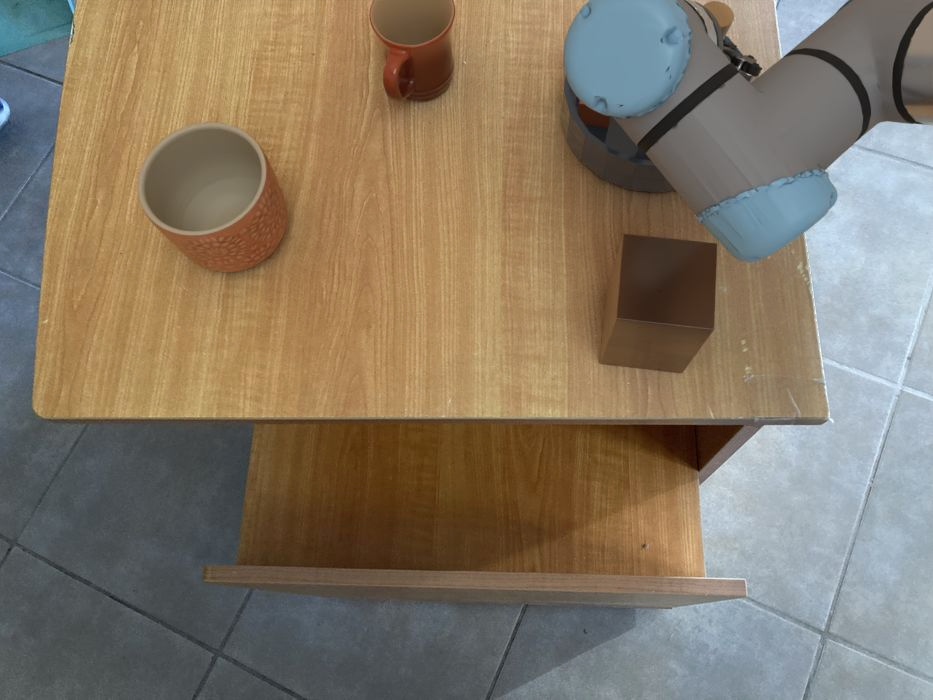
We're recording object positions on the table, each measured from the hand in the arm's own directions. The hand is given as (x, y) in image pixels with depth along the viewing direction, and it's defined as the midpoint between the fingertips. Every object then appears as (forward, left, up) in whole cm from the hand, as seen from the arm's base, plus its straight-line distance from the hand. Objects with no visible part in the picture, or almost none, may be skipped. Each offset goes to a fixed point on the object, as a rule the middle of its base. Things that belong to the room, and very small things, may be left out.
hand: (709, 49), depth 78 cm
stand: (+4, +29, -7) cm, 30 cm away
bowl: (+5, +4, -7) cm, 9 cm away
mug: (+31, +3, -7) cm, 32 cm away
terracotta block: (+11, +4, -7) cm, 13 cm away
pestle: (+3, +5, -6) cm, 8 cm away
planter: (+47, +23, -7) cm, 52 cm away
